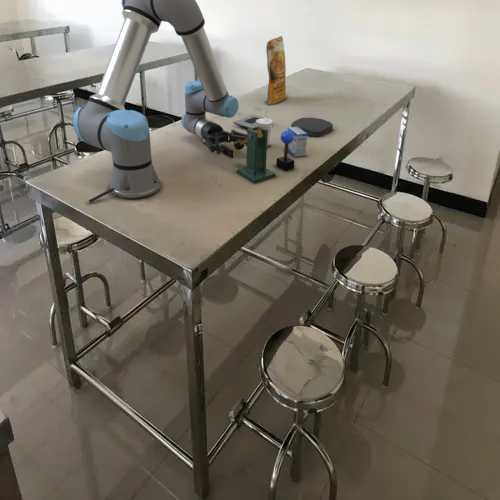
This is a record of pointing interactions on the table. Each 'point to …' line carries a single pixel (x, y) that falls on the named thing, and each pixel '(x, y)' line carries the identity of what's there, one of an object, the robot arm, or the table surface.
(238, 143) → the switch lever
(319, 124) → the media streaming box
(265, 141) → the switch bracket
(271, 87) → the pancake mix bag
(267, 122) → the smoothie
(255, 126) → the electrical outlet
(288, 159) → the blue knob joystick
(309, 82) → the table surface
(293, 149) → the medicine box
